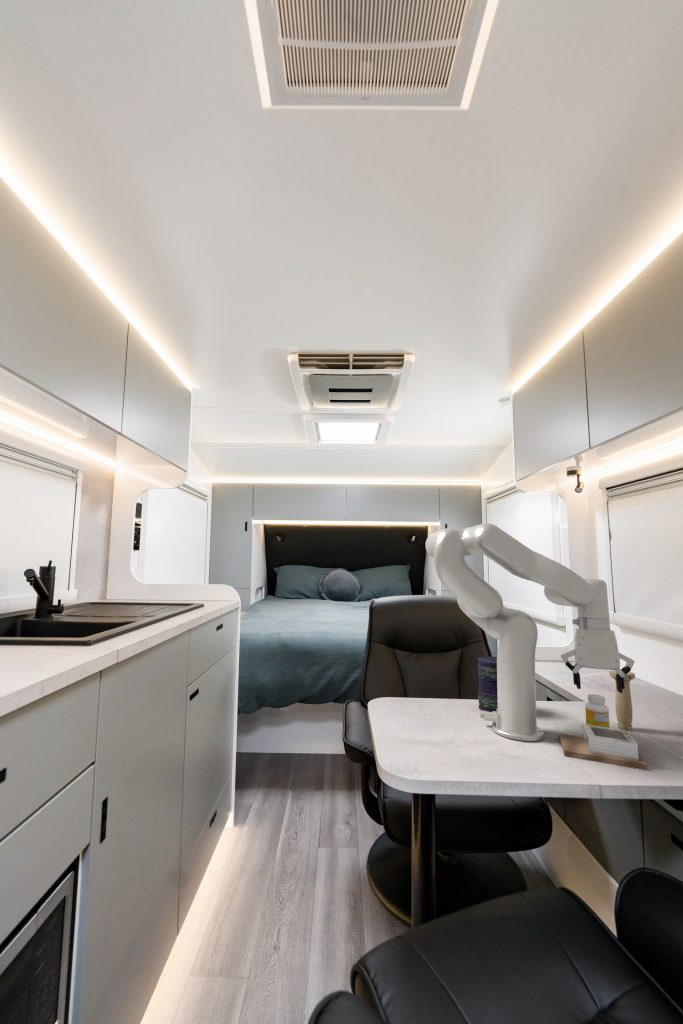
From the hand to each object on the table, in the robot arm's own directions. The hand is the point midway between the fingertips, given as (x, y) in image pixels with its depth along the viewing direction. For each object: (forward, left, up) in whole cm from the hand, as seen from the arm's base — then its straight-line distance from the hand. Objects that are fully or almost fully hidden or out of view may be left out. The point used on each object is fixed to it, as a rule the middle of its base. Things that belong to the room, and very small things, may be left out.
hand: (598, 689), depth 114 cm
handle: (+7, +9, -12) cm, 16 cm away
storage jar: (-27, +9, -12) cm, 30 cm away
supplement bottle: (-1, 0, -12) cm, 12 cm away
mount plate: (-3, -14, -11) cm, 18 cm away
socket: (-1, -14, -10) cm, 18 cm away
